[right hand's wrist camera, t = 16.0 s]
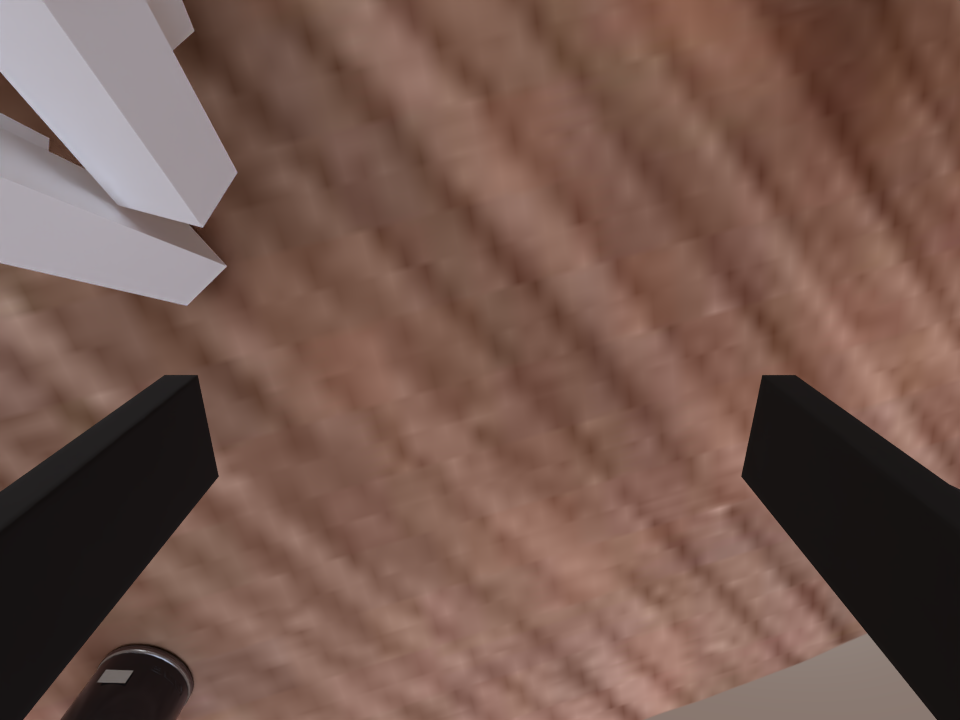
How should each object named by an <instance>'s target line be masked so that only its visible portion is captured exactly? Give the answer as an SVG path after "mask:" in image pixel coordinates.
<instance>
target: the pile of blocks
mask: <svg viewBox="0 0 960 720" xmlns="http://www.w3.org/2000/svg"><path fill="white" fill-rule="evenodd" d="M193 32H194V28H193V26H192V23H191V21H190V18H189V16H188V13H187V11H186V8H185V6H184V3H183V1H182V0H0V72H1V73H2V74H3V76H4V77H5V78H6V79H7V80H8V81H9V82H10V83H11V85H12V86H13V87H14V88H15V89H16V90H17V91H18V93H19V94H20V95H21V96H22V97H23V98H24V99H25V100H26V102H27V103H28V104H29V105H30V106H31V107H32V108H33V110H34V111H35V112H36V113H37V114H38V115H39V116H40V118H41V119H42V120H43V121H44V122H45V123H46V124H47V125H48V127H49V128H50V129H51V130H52V131H53V132H54V133H55V135H56V136H57V137H58V138H59V139H60V140H61V141H62V142H63V144H64V145H65V146H66V147H67V148H68V149H69V150H70V152H71V153H72V154H73V155H74V156H75V157H76V158H77V160H78V161H79V162H80V163H81V164H82V165H83V166H84V167H85V169H84V168H82V167H80V166H78V165H76V164H74V163H72V162H70V161H68V160H66V159H64V158H62V157H60V156H58V155H55V154H53V153H51V152H49V138H48V137H46V136H44V135H42V134H40V133H38V132H36V131H35V130H33V129H31V128H29V127H27V126H25V125H23V124H21V123H19V122H17V121H15V120H13V119H11V118H9V117H7V116H6V115H4V114H2V113H0V263H3V264H7V265H11V266H16V267H20V268H25V269H29V270H33V271H38V272H42V273H46V274H51V275H55V276H59V277H64V278H68V279H73V280H77V281H81V282H86V283H90V284H94V285H99V286H103V287H107V288H112V289H116V290H121V291H125V292H129V293H134V294H138V295H142V296H147V297H151V298H155V299H160V300H164V301H169V302H173V303H177V304H182V305H186V306H187V305H188V304H189V303H190V302H191V301H192V300H193V299H194V298H195V297H196V296H197V295H198V294H199V293H200V292H201V291H202V290H203V289H204V288H206V287H207V286H208V285H209V284H210V283H211V282H212V281H213V280H214V279H215V278H216V277H217V276H218V275H219V274H220V273H221V272H222V271H223V270H224V269H225V268H226V267H227V265H226V264H225V263H224V262H223V261H222V260H221V259H220V258H219V257H218V256H217V255H216V253H215V252H214V251H213V250H212V249H211V248H210V247H209V246H208V245H207V244H206V243H205V241H204V240H203V239H202V238H201V237H200V236H199V235H198V234H197V233H196V232H195V231H194V229H193V228H192V227H191V226H190V225H189V224H191V225H194V226H198V227H202V228H203V227H204V225H205V224H206V222H207V220H208V219H209V217H210V216H211V214H212V213H213V211H214V209H215V208H216V206H217V205H218V203H219V201H220V200H221V198H222V197H223V195H224V193H225V192H226V190H227V189H228V187H229V185H230V184H231V182H232V181H233V179H234V177H235V176H236V174H237V173H238V172H237V170H236V169H235V167H234V165H233V163H232V161H231V159H230V157H229V155H228V154H227V152H226V150H225V148H224V146H223V144H222V142H221V141H220V139H219V137H218V135H217V133H216V131H215V129H214V127H213V126H212V124H211V122H210V120H209V118H208V116H207V114H206V112H205V111H204V109H203V107H202V105H201V103H200V101H199V99H198V97H197V96H196V94H195V92H194V90H193V88H192V86H191V84H190V82H189V81H188V79H187V77H186V75H185V73H184V71H183V69H182V67H181V66H180V64H179V62H178V60H177V58H176V56H175V54H174V52H173V50H174V49H175V48H176V47H177V46H178V45H180V44H181V43H182V42H183V41H184V40H185V39H186V38H187V37H189V36H190V35H191V34H192V33H193Z"/></svg>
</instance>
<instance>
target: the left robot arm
mask: <svg viewBox="0 0 960 720" xmlns="http://www.w3.org/2000/svg"><path fill="white" fill-rule="evenodd" d="M192 690H193V679H192V676H191V673H190V671H189V670H188V668H187V667H186V666H185V665H184V664H183V663H182V662H181V661H180V660H179V659H178V658H176V657H175V656H173V655H172V654H170V653H168V652H166V651H163V650H161V649H158V648H154V647H150V646H144V645H130V646H124V647H121V648H118V649H116V650H114V651H112V652H111V653H109V654H108V655H107V656H106V657H105V658H104V660H103V661H102V662H101V664H100V665H99V667H98V669H97V671H96V672H95V674H94V675H93V676H92V678H91V679H90V681H89V682H88V683H87V685H86V686H85V687H84V689H83V690H82V691H81V693H80V694H79V695H78V697H77V698H76V699H75V701H74V702H73V703H72V705H71V706H70V707H69V709H68V710H67V711H66V713H65V714H64V715H63V717H62V718H61V720H176V719H177V717H178V716H179V714H180V712H181V710H182V708H183V706H184V705H185V704H186V703H187V701H188V699H189V697H190V695H191V693H192Z"/></svg>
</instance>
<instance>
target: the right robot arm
mask: <svg viewBox="0 0 960 720" xmlns="http://www.w3.org/2000/svg"><path fill="white" fill-rule="evenodd" d="M218 477H219V476H218V471H217V466H216V461H215V457H214V452H213V447H212V442H211V437H210V433H209V428H208V423H207V418H206V413H205V408H204V404H203V399H202V394H201V389H200V384H199V379H198V375H164V376H163V377H161V378H160V379H159V380H157V381H156V382H154V383H153V384H152V385H150V386H149V387H147V388H146V389H145V390H143V391H142V392H140V393H139V394H138V395H136V396H135V397H133V398H132V399H131V400H129V401H128V402H126V403H125V404H123V405H122V406H121V407H119V408H118V409H116V410H115V411H114V412H112V413H111V414H109V415H108V416H107V417H105V418H104V419H102V420H101V421H100V422H98V423H97V424H95V425H94V426H92V427H91V428H90V429H88V430H87V431H85V432H84V433H83V434H81V435H80V436H78V437H77V438H76V439H74V440H73V441H71V442H70V443H69V444H67V445H66V446H64V447H63V448H62V449H60V450H59V451H57V452H56V453H54V454H53V455H52V456H50V457H49V458H47V459H46V460H45V461H43V462H42V463H40V464H39V465H38V466H36V467H35V468H33V469H32V470H31V471H29V472H28V473H26V474H25V475H23V476H22V477H21V478H19V479H18V480H16V481H15V482H14V483H12V484H11V485H9V486H8V487H7V488H5V489H4V490H2V491H1V492H0V720H23V719H24V718H25V717H26V715H27V714H28V713H29V712H30V710H31V709H32V708H33V707H34V705H35V704H36V703H37V702H38V700H39V699H40V698H41V697H42V696H43V694H44V693H45V692H46V691H47V689H48V688H49V687H50V686H51V684H52V683H53V682H54V681H55V679H56V678H57V677H58V676H59V674H60V673H61V672H62V671H63V669H64V668H65V667H66V666H67V664H68V663H69V662H70V661H71V659H72V658H73V657H74V656H75V654H76V653H77V652H78V651H79V649H80V648H81V647H82V646H83V645H84V643H85V642H86V641H87V640H88V638H89V637H90V636H91V635H92V633H93V632H94V631H95V630H96V628H97V627H98V626H99V625H100V623H101V622H102V621H103V620H104V618H105V617H106V616H107V615H108V613H109V612H110V611H111V610H112V608H113V607H114V606H115V605H116V603H117V602H118V601H119V600H120V598H121V597H122V596H123V595H124V593H125V592H126V591H127V590H128V589H129V587H130V586H131V585H132V584H133V582H134V581H135V580H136V579H137V577H138V576H139V575H140V574H141V572H142V571H143V570H144V569H145V567H146V566H147V565H148V564H149V562H150V561H151V560H152V559H153V557H154V556H155V555H156V554H157V552H158V551H159V550H160V549H161V547H162V546H163V545H164V544H165V542H166V541H167V540H168V539H169V538H170V536H171V535H172V534H173V533H174V531H175V530H176V529H177V528H178V526H179V525H180V524H181V523H182V521H183V520H184V519H185V518H186V516H187V515H188V514H189V513H190V511H191V510H192V509H193V508H194V506H195V505H196V504H197V503H198V501H199V500H200V499H201V498H202V496H203V495H204V494H205V493H206V491H207V490H208V489H209V488H210V487H211V485H212V484H213V483H214V482H215V480H216V479H217V478H218ZM741 477H742V478H743V479H744V480H745V482H746V483H747V484H748V485H749V487H750V488H751V489H752V490H753V491H754V493H755V494H756V495H757V496H758V498H759V499H760V500H761V501H762V503H763V504H764V505H765V506H766V508H767V509H768V510H769V511H770V513H771V514H772V515H773V516H774V518H775V519H776V520H777V521H778V523H779V524H780V525H781V526H782V528H783V529H784V530H785V531H786V533H787V534H788V535H789V536H790V538H791V539H792V540H793V541H794V542H795V544H796V545H797V546H798V547H799V549H800V550H801V551H802V552H803V554H804V555H805V556H806V557H807V559H808V560H809V561H810V562H811V564H812V565H813V566H814V567H815V569H816V570H817V571H818V572H819V574H820V575H821V576H822V577H823V579H824V580H825V581H826V582H827V584H828V585H829V586H830V587H831V589H832V590H833V591H834V592H835V594H836V595H837V596H838V597H839V598H840V600H841V601H842V602H843V603H844V605H845V606H846V607H847V608H848V610H849V611H850V612H851V613H852V615H853V616H854V617H855V618H856V620H857V621H858V622H859V623H860V625H861V626H862V627H863V628H864V630H865V631H866V632H867V633H868V635H869V636H870V637H871V638H872V640H873V641H874V642H875V643H876V645H877V646H878V647H879V648H880V649H881V651H882V652H883V653H884V654H885V656H886V657H887V658H888V659H889V661H890V662H891V663H892V664H893V666H894V667H895V668H896V669H897V671H898V672H899V673H900V674H901V676H902V677H903V678H904V679H905V681H906V682H907V683H908V684H909V686H910V687H911V688H912V689H913V691H914V692H915V693H916V694H917V695H918V697H919V698H920V699H921V700H922V702H923V703H924V704H925V705H926V707H927V708H928V709H929V710H930V712H931V713H932V714H933V715H934V717H935V718H936V719H937V720H960V489H958V488H956V487H954V486H952V485H949V484H948V483H946V482H945V481H944V480H942V479H941V478H939V477H938V476H937V475H935V474H934V473H932V472H931V471H929V470H928V469H927V468H925V467H924V466H922V465H921V464H920V463H918V462H917V461H915V460H914V459H913V458H911V457H910V456H908V455H907V454H906V453H904V452H903V451H901V450H900V449H898V448H897V447H896V446H894V445H893V444H891V443H890V442H889V441H887V440H886V439H884V438H883V437H882V436H880V435H879V434H877V433H876V432H875V431H873V430H872V429H870V428H869V427H868V426H866V425H865V424H863V423H862V422H860V421H859V420H858V419H856V418H855V417H853V416H852V415H851V414H849V413H848V412H846V411H845V410H844V409H842V408H841V407H839V406H838V405H837V404H835V403H834V402H832V401H831V400H829V399H828V398H827V397H825V396H824V395H822V394H821V393H820V392H818V391H817V390H815V389H814V388H813V387H811V386H810V385H808V384H807V383H806V382H804V381H803V380H801V379H800V378H799V377H797V376H796V375H762V379H761V384H760V389H759V394H758V399H757V404H756V408H755V413H754V418H753V423H752V428H751V433H750V437H749V442H748V447H747V452H746V457H745V461H744V466H743V471H742V476H741Z"/></svg>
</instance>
